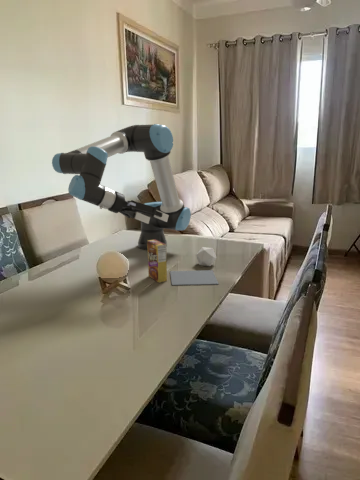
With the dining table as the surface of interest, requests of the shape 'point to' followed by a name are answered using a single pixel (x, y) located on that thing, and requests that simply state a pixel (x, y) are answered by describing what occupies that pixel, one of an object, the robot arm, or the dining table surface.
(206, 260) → the die
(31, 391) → the dining table surface
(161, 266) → the candy box
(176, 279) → the felt mat
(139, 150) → the robot arm
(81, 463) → the dining table surface
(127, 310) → the dining table surface
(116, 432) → the dining table surface
